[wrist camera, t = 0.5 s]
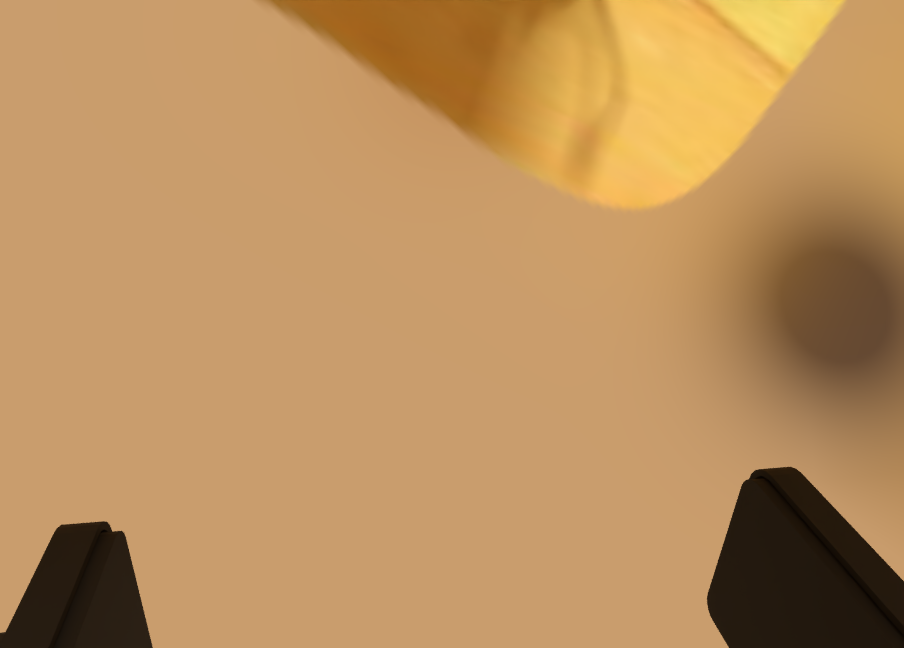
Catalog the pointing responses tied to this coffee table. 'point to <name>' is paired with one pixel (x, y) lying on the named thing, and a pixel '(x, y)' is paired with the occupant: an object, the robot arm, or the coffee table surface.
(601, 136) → the coffee table surface
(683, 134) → the coffee table surface
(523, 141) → the coffee table surface
